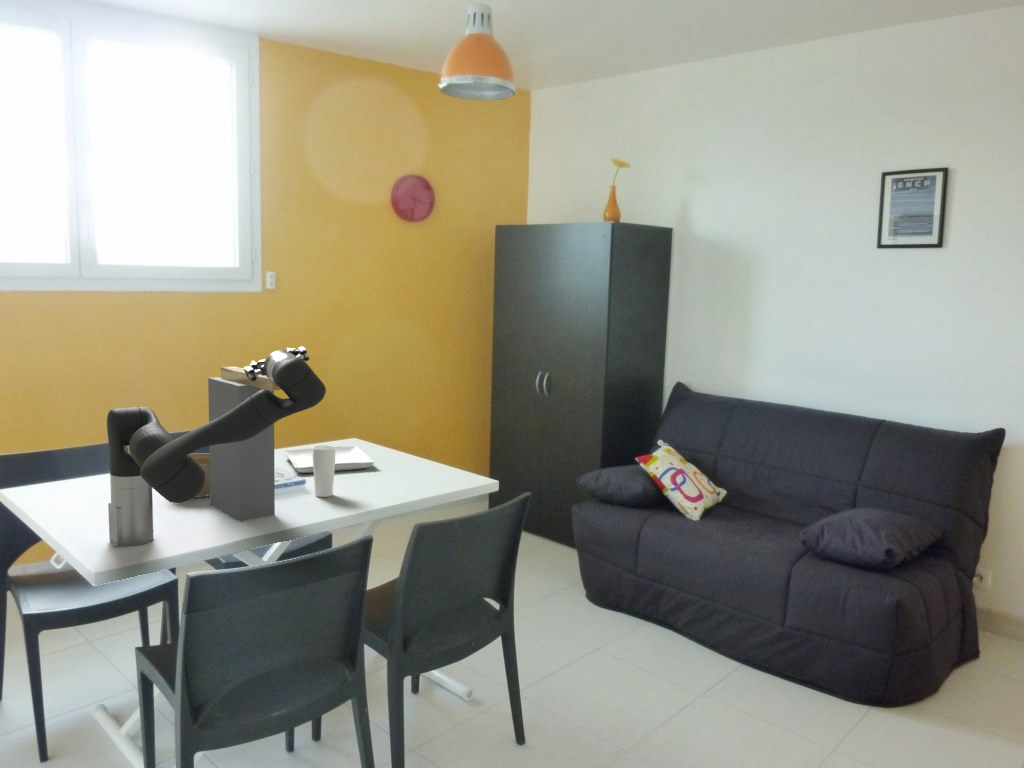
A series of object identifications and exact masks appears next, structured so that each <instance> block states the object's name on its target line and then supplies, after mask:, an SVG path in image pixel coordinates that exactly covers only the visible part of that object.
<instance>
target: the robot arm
mask: <svg viewBox="0 0 1024 768" xmlns="http://www.w3.org/2000/svg"><path fill="white" fill-rule="evenodd" d="M309 360H310V356H309V354H308V350H307V349H306V348H305V346H303V345H299V347H297V349H296V348H294V347H293V348H292V347H291V348H290V347H286V348H285V349H284V350H283V349H278V350H275V351H273V352H271V353H270V354H269V355H268V356H266V358H265V359H260V360H258V361H257V362H256V361H255V360H252V361H250V362H251V363H249V365H245V366H244V367H243V369H244V371H245V373H246V376H247V378H248V379H250V380H251V381H255V380H257V378H258V377H257V376H258V375H260V374H261V375H262V376H264V375H266V376H267V377H268V378H269V379H270V380H271V381H272V382H273V383H274V384H275V385H276V386H278V387H279V388H281V389H282V390H281V391H283V392H284V394H285V395H286V396H287V397H288V398H282V397H279V396H277V395H276V394H275V393H274V394H273V393H271V392H270V391H268V390H265V389H263V390H260V391H258V392H257V393H255V394H254V395H252V396H251V397H249V398H248V399H246V400H245V401H244V402H242V403H241V404H239V405H238V406H236V407H235V408H234V409H232V410H230V411H229V412H227V413H226V414H224V415H222V416H221V417H219V418H217V419H215V420H213V421H211V422H209V421H208V422H207V423H204V424H203V425H200V426H198V427H196V428H194V429H193V430H190V431H189V432H187V433H185V434H183V435H181V436H179V437H177V438H174V437H173V436H172V434H171V433H169V431H168V430H166V429H165V427H163V425H162V424H161V422H160V421H159V418H158V417H157V415H156V413H155V412H154V411H153V409H152V408H150V407H146V406H136V407H135V406H134V407H118V408H112V409H110V410H109V411H108V414H107V416H106V431H107V442H108V453H109V454H108V455H109V456H108V457H109V476H110V477H109V479H110V480H109V481H110V482H109V483H110V502H108V504H107V507H108V529H109V530H108V533H109V536H108V537H109V541H110V542H111V543H113V545H115V546H116V547H123V546H125V547H126V546H137V545H138V546H139V545H143V544H146V543H149V542H151V541H152V540H153V539H154V508H153V507H154V505H153V490H155V491H156V492H157V493H158V494H159V495H160V496H161V497H163V498H164V499H165V500H167V501H168V502H170V503H174V504H183V503H187V502H189V501H191V500H193V499H194V498H197V497H196V496H197V495H198V494H199V492H200V491H201V490H202V488H203V486H204V483H205V472H204V470H203V468H202V467H201V466H200V465H199V464H198V463H197V462H196V461H195V460H194V459H193V458H192V457H191V456H189V455H188V454H193V452H197V451H198V450H201V449H203V448H207V447H208V448H209V446H212V445H218V444H226V443H234V442H240V441H244V440H247V439H250V438H252V437H254V436H256V435H258V434H259V433H261V432H262V431H263V430H265V429H266V428H268V427H269V426H271V425H272V424H274V425H275V423H276V422H278V421H280V420H282V419H285V418H287V417H288V416H291V415H293V414H296V413H300V412H303V411H305V410H308V409H311V408H314V407H315V406H317V405H319V403H321V402H322V401H323V399H324V398H325V395H326V392H327V388H326V386H325V384H324V383H323V381H322V380H321V379H320V378H319V376H318V375H317V374H316V373H315V372H314V370H313V369H312V368H311V367H310V366H309V364H308V363H307V362H308V361H309ZM126 446H127V447H128V450H129V451H128V452H127V450H125V447H126Z"/></svg>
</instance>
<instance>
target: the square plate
mask: <svg viewBox="0 0 1024 768" xmlns="http://www.w3.org/2000/svg"><path fill="white" fill-rule="evenodd" d="M334 447H335V470H334V472H339V471H341V472H343V471H354V470H353V469H355V470H360V469H367V468H370V467H371V466H372V465H373V464H374V463H375V460H373V459H372V457H370V456H369V455H368V454H366V452H364V451H363V450H362V449H360V448H359V447H358V446H357V445H356V446H355V445H353V446H351V445H347V446H334ZM282 452H283V454H284V455H285V456H286V457H287V459H288V460H289V461H290V463H291V465H292V466H293V468H294V469H295V470H296V471H297V472H298V473H303V474H306V473H307V474H309V473H313V474H314V471H313V447H308V448H307V447H306V448H299V449H298V448H297V449H289V450H288V449H287V450H283V451H282ZM342 470H343V471H342Z"/></svg>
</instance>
